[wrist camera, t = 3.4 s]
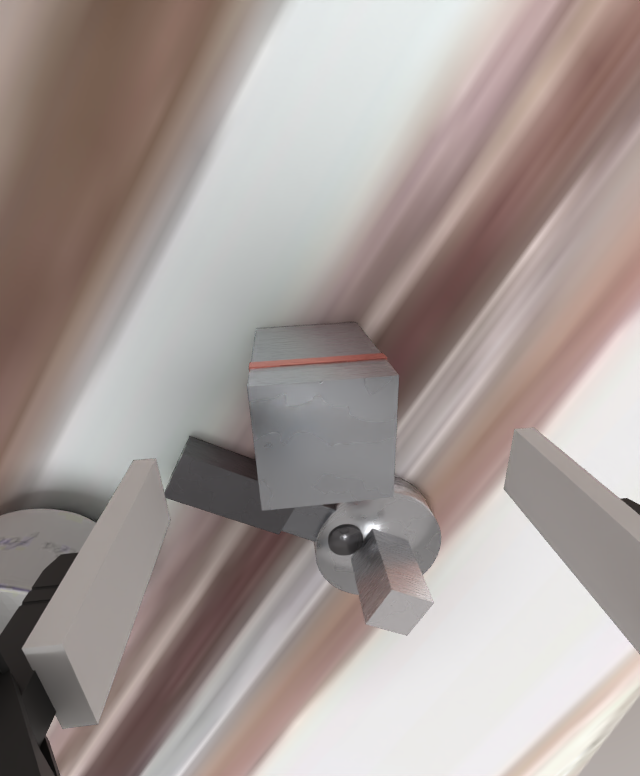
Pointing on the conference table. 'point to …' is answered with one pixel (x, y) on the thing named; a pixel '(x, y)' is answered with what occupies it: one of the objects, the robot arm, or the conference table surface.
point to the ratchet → (328, 532)
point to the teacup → (34, 550)
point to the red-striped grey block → (322, 416)
